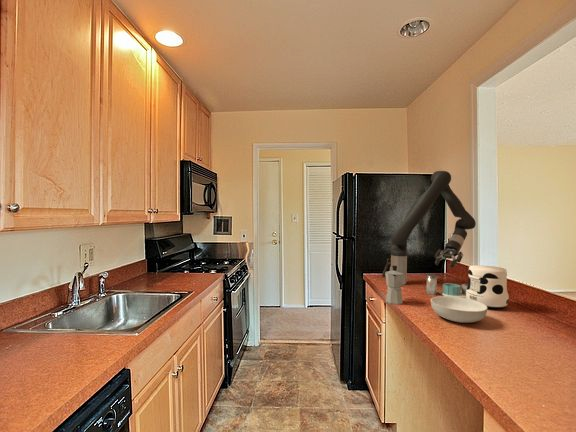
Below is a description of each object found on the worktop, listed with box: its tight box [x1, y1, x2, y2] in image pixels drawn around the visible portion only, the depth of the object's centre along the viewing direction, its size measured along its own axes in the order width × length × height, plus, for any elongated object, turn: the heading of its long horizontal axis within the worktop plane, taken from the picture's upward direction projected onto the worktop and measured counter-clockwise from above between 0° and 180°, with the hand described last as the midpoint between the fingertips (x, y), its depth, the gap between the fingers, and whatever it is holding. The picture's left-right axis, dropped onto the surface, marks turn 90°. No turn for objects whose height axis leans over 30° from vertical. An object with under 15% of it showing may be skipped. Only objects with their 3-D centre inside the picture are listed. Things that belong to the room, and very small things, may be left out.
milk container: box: [466, 264, 510, 309], centre depth 152 cm, size 17×17×18 cm
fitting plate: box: [438, 282, 468, 299], centre depth 168 cm, size 17×11×6 cm, turn 89°
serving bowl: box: [430, 295, 489, 324], centre depth 132 cm, size 21×21×7 cm
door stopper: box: [381, 258, 391, 278], centre depth 216 cm, size 9×6×12 cm, turn 72°
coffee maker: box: [385, 266, 404, 306], centre depth 157 cm, size 15×9×18 cm, turn 161°
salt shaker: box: [425, 274, 438, 296], centre depth 172 cm, size 5×5×10 cm
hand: (443, 265), depth 178 cm, fingers open, 8 cm apart
